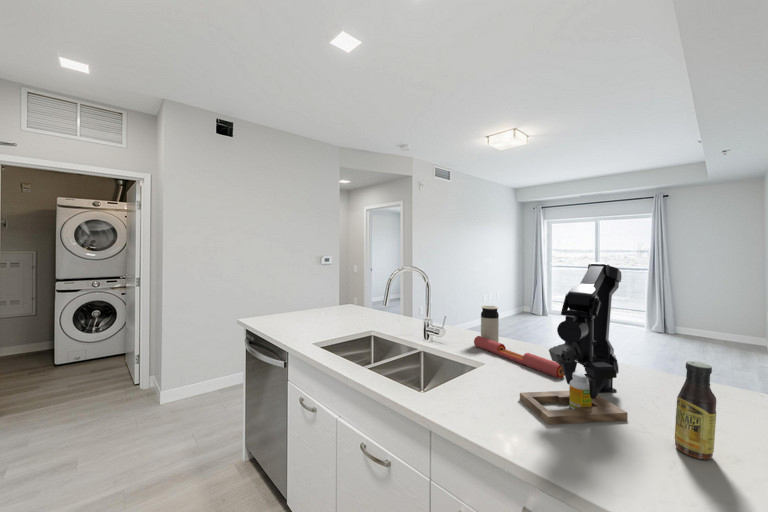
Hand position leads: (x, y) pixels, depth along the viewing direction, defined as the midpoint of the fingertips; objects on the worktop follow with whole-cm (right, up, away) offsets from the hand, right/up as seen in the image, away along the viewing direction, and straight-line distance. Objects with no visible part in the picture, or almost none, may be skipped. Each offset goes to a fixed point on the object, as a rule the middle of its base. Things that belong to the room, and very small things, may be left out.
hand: (580, 391), depth 90 cm
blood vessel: (-2, -5, +41) cm, 41 cm away
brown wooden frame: (-3, -5, 0) cm, 6 cm away
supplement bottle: (0, -5, 0) cm, 5 cm away
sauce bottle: (+13, -6, -20) cm, 24 cm away
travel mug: (-5, -4, +62) cm, 62 cm away
